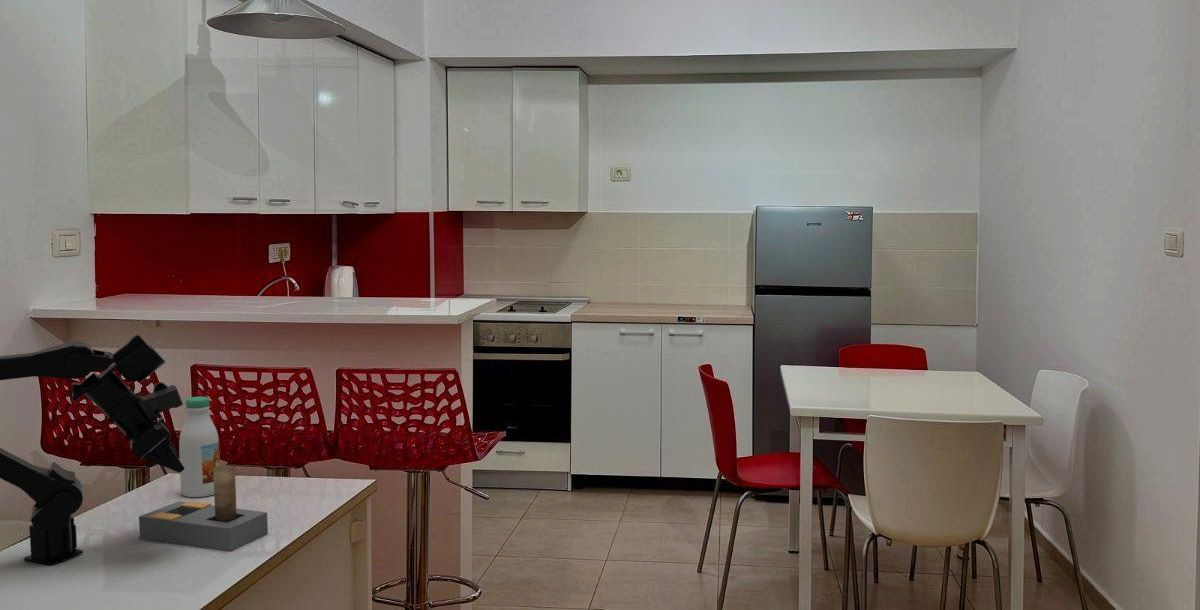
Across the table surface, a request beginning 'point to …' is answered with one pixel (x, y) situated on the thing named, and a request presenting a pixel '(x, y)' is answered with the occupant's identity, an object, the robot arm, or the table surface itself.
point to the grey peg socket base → (202, 526)
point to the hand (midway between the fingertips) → (179, 464)
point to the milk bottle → (198, 449)
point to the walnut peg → (225, 493)
